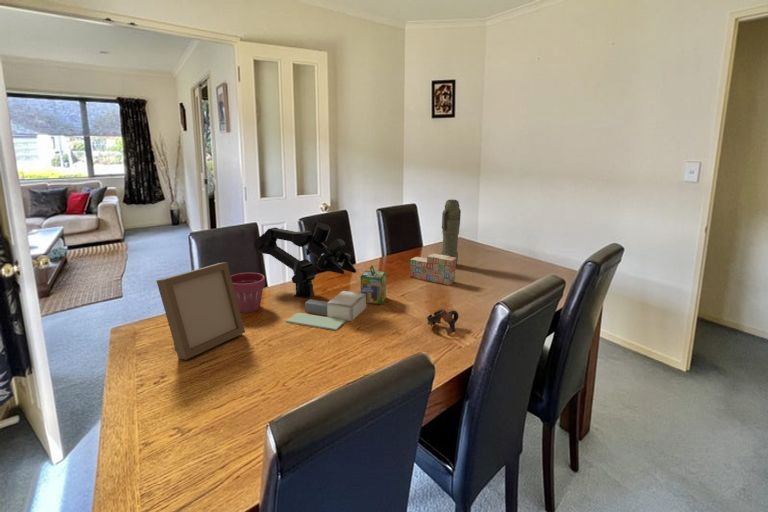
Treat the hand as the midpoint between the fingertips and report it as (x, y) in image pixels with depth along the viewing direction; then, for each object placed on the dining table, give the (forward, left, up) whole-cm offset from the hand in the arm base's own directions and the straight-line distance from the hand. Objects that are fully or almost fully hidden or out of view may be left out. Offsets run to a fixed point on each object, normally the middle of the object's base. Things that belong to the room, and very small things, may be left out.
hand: (350, 272), depth 164 cm
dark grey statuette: (+26, +73, -15) cm, 78 cm away
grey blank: (-7, -8, -15) cm, 18 cm away
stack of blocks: (+23, +46, -15) cm, 53 cm away
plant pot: (-37, -15, -15) cm, 43 cm away
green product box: (+6, +11, -15) cm, 19 cm away
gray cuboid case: (+1, -5, -14) cm, 15 cm away
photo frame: (-33, -44, -15) cm, 57 cm away
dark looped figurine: (+39, -7, -15) cm, 42 cm away
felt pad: (-6, -17, -14) cm, 23 cm away
